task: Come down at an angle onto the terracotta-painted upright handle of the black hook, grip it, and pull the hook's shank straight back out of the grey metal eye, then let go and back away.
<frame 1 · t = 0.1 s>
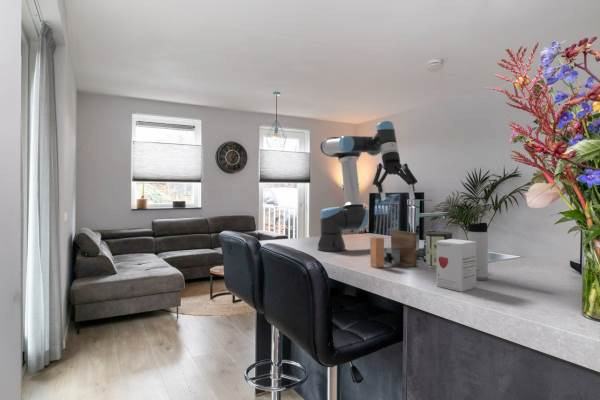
hand: (398, 199, 154), 28 cm above the worktop, tool tilted 20°, fingers open, 13 cm apart
supplement box: (456, 287, 116), on the worktop
eye: (391, 265, 153), on the worktop
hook: (386, 251, 152), point 6 cm above the worktop, slide at 0.0 cm
travel mug: (478, 279, 127), on the worktop
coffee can: (439, 266, 149), on the worktop
backboard: (403, 264, 155), on the worktop
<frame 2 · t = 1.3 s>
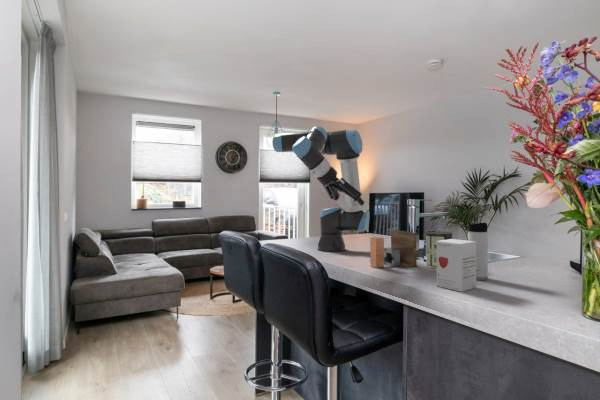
hand: (356, 209, 145), 24 cm above the worktop, tool tilted 45°, fingers open, 13 cm apart
nothing on the worktop moved.
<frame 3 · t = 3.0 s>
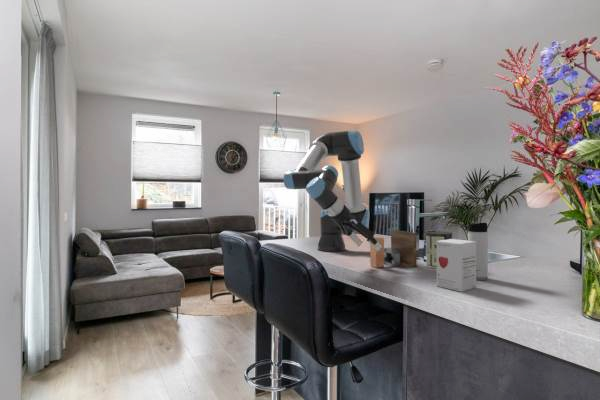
hand: (369, 246, 147), 9 cm above the worktop, tool tilted 45°, fingers open, 13 cm apart
nothing on the worktop moved.
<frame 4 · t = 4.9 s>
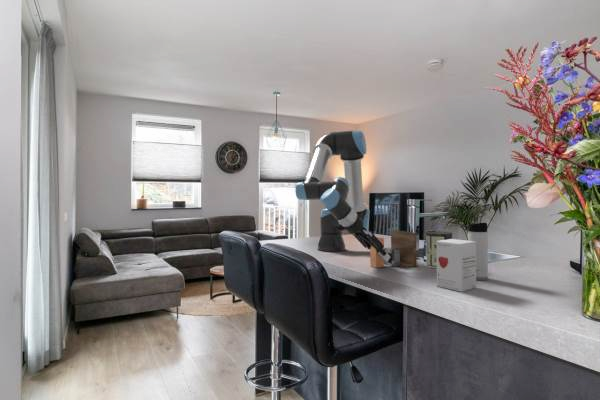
hand: (384, 258, 151), 3 cm above the worktop, tool tilted 45°, fingers closed on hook, 4 cm apart
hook: (386, 251, 152), point 6 cm above the worktop, slide at 0.0 cm, touching gripper
everything else where it was.
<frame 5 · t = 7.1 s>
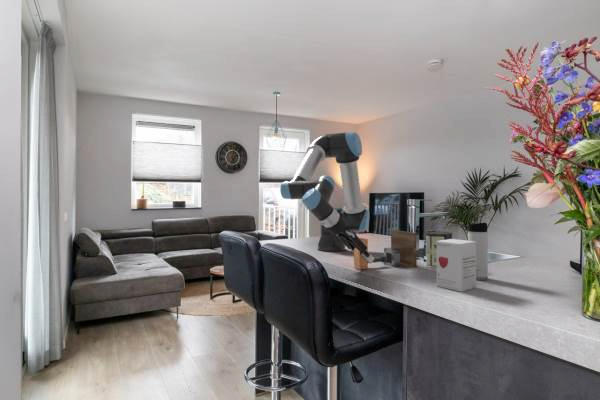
hand: (368, 260, 148), 3 cm above the worktop, tool tilted 45°, fingers closed on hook, 4 cm apart
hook: (370, 252, 148), point 6 cm above the worktop, slide at 8.0 cm, touching gripper
everything else where it was.
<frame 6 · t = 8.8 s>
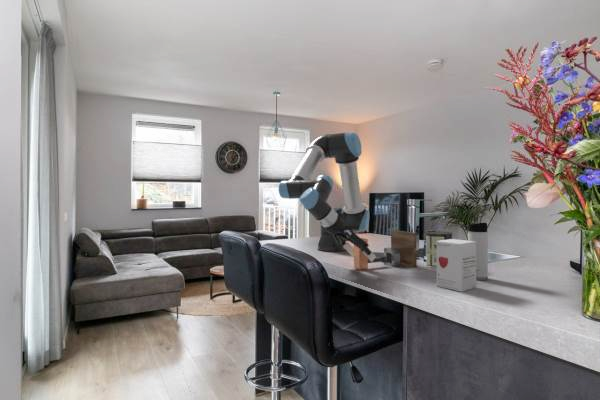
hand: (363, 256, 147), 5 cm above the worktop, tool tilted 45°, fingers open, 13 cm apart
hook: (370, 252, 148), point 6 cm above the worktop, slide at 8.0 cm
everything else where it was.
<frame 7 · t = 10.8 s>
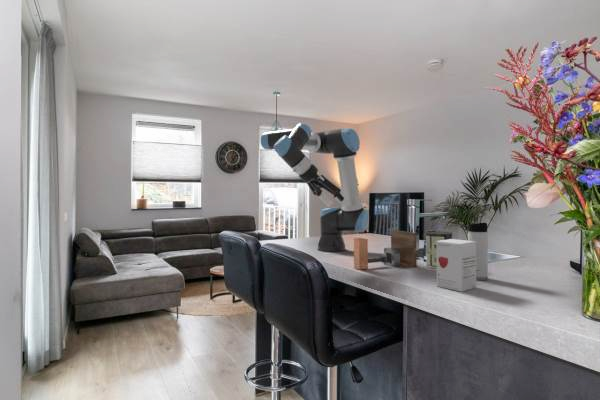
hand: (338, 205, 151), 26 cm above the worktop, tool tilted 45°, fingers open, 13 cm apart
nothing on the worktop moved.
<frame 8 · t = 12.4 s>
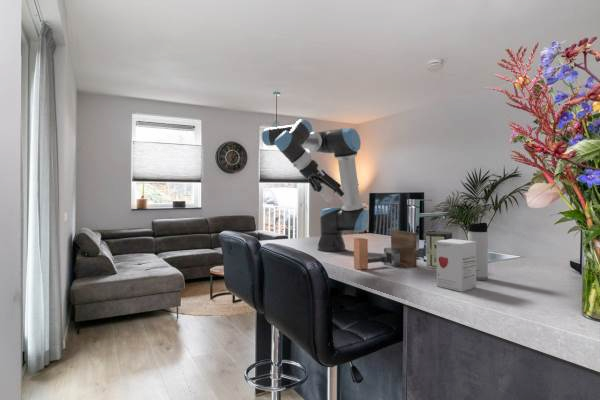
hand: (338, 200, 152), 28 cm above the worktop, tool tilted 45°, fingers open, 13 cm apart
nothing on the worktop moved.
at the end: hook slide at 8.0 cm; the gripper is holding nothing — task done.
